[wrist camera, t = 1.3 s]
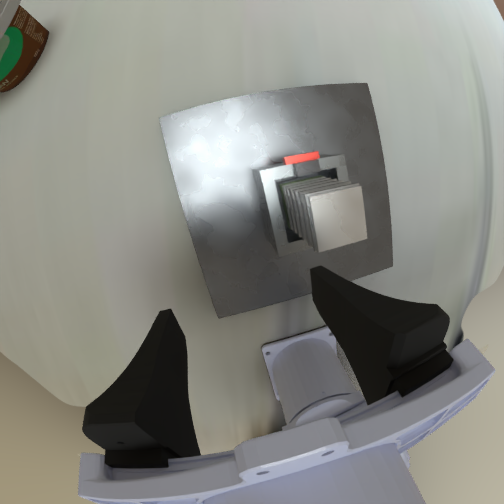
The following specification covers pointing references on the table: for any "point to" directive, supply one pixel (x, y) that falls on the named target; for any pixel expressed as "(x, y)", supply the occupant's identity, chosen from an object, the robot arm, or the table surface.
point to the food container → (18, 43)
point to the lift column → (323, 211)
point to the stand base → (265, 192)
